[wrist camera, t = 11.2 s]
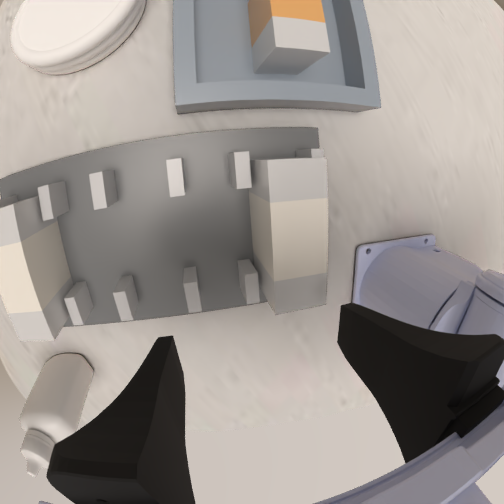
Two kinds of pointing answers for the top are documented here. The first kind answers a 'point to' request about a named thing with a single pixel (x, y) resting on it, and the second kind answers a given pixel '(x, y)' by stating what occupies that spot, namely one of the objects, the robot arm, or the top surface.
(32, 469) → the eye dropper bottle
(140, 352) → the top surface
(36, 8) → the white round tin
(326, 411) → the top surface
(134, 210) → the panel
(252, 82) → the tray
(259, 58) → the orange fuse
